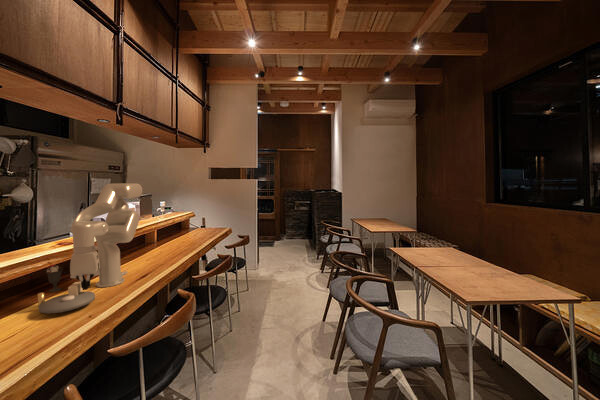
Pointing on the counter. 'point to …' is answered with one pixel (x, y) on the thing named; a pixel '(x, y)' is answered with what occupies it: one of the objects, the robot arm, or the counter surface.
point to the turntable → (67, 300)
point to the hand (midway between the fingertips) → (86, 288)
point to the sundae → (54, 276)
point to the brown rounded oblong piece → (43, 300)
